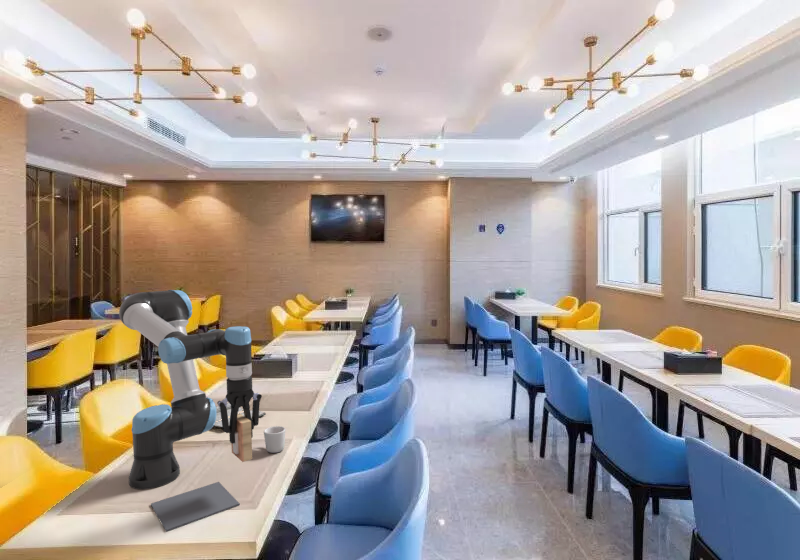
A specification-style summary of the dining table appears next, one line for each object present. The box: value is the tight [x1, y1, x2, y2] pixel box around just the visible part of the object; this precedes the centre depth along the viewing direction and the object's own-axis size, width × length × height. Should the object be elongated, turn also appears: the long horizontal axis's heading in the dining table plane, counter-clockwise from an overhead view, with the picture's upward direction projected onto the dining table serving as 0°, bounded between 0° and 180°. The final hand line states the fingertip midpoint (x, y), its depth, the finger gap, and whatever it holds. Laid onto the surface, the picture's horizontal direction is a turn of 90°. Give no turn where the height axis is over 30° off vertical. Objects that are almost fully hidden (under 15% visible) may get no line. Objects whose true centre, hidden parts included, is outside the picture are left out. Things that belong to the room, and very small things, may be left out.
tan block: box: [231, 413, 253, 463], centre depth 146 cm, size 9×3×12 cm, turn 40°
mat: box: [213, 402, 267, 429], centre depth 212 cm, size 23×24×5 cm
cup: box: [263, 425, 286, 454], centre depth 178 cm, size 11×8×8 cm
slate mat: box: [150, 481, 241, 533], centre depth 139 cm, size 18×20×1 cm
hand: (241, 450), depth 146 cm, fingers closed on tan block, 3 cm apart
